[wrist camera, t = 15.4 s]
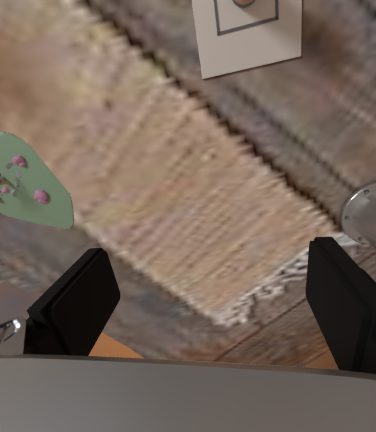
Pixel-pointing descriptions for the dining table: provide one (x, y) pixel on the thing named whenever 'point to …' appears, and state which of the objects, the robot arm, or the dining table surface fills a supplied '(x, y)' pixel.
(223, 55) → the paper sheet
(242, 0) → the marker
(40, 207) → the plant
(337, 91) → the dining table surface
